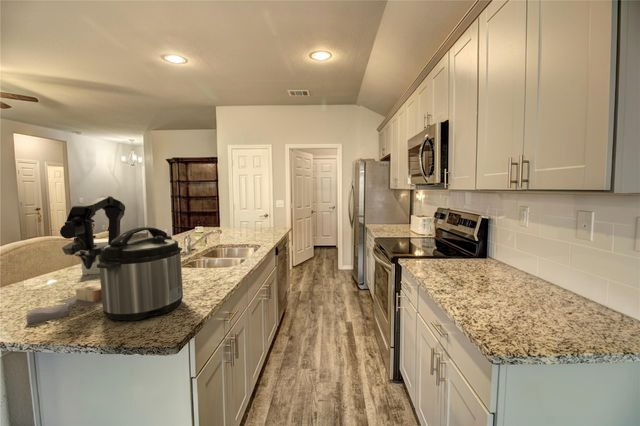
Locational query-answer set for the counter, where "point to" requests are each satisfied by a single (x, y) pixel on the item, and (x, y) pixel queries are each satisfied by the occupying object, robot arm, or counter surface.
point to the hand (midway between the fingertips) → (88, 269)
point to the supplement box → (94, 266)
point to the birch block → (89, 293)
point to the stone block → (48, 313)
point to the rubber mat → (78, 301)
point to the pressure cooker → (140, 275)
